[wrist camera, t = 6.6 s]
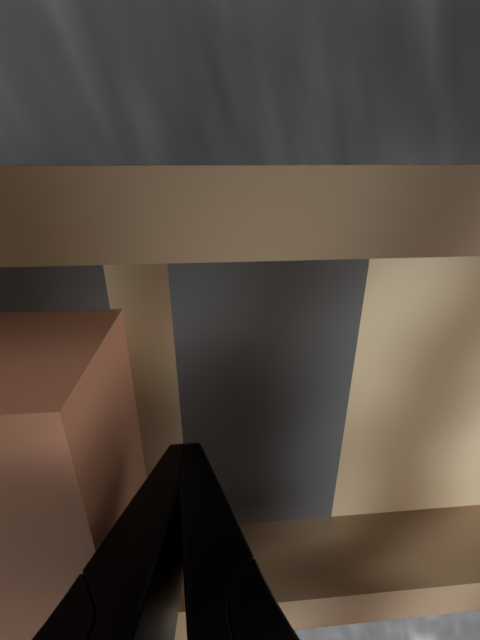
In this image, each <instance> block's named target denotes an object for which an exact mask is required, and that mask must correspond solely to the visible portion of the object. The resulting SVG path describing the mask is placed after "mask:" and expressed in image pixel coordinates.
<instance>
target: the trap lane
mask: <svg viewBox="0 0 480 640" xmlns="http://www.w3.org/2000/svg"><path fill="white" fill-rule="evenodd" d="M105 309H122V311H123V318H124V325H125V331H126V338H127V345H128V352H129V359H130V366H131V372H132V379H133V386H134V393H135V400H136V407H137V414H138V420H139V427H140V434H141V441H142V448H143V455H144V462H145V468H146V475H147V477H148V475H149V474H150V473H151V471H152V470H153V468H154V467H155V465H156V464H157V463H158V461H159V460H160V458H161V457H162V455H163V454H164V453H165V451H166V450H167V448H168V447H169V446H170V445H171V444H182V443H200V444H201V445H202V447H203V450H204V452H205V454H206V456H207V458H208V460H209V462H210V464H211V466H212V468H213V471H214V473H215V475H216V477H217V479H218V481H219V483H220V485H221V487H222V490H223V492H224V494H225V496H226V498H227V500H228V502H229V504H230V506H231V509H232V511H233V513H234V515H235V517H236V519H237V521H238V523H239V525H240V528H241V530H242V532H243V534H244V536H245V538H246V540H247V542H248V544H249V547H250V549H251V551H252V553H253V555H254V558H255V559H256V561H257V563H258V565H259V567H260V569H261V571H262V573H263V576H264V577H265V579H266V581H267V583H268V585H269V587H270V589H271V591H272V593H273V595H274V597H275V599H276V601H277V603H278V604H279V606H280V608H281V609H282V611H283V613H284V614H285V616H286V618H287V619H288V621H289V623H290V625H291V626H292V628H293V630H297V629H306V628H316V627H325V626H335V625H345V624H354V623H364V622H374V621H383V620H393V619H402V618H412V617H422V616H431V615H441V614H450V613H460V612H470V611H479V610H480V165H106V166H0V313H3V312H37V311H71V310H105ZM175 640H187V629H186V612H185V596H184V579H183V581H182V588H181V596H180V603H179V610H178V618H177V625H176V632H175Z"/></svg>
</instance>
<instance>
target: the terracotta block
mask: <svg viewBox="0 0 480 640" xmlns="http://www.w3.org/2000/svg"><path fill="white" fill-rule="evenodd" d="M146 478H147V475H146V468H145V462H144V455H143V448H142V441H141V434H140V427H139V420H138V414H137V407H136V400H135V393H134V386H133V379H132V372H131V366H130V359H129V352H128V345H127V338H126V331H125V325H124V318H123V311H122V309H105V310H71V311H37V312H3V313H0V640H31V639H32V638H33V637H34V636H35V634H36V633H37V632H38V631H39V629H40V628H41V627H42V626H43V624H44V623H45V622H46V620H47V619H48V618H49V616H50V615H51V614H52V612H53V611H54V609H55V608H56V607H57V605H58V604H59V603H60V601H61V600H62V598H63V597H64V596H65V594H66V593H67V592H68V590H69V589H70V587H71V586H72V584H73V583H74V581H75V580H76V578H77V577H78V576H79V574H83V573H82V571H83V569H84V567H85V566H86V564H87V563H88V562H89V560H90V559H91V557H92V556H93V554H94V553H95V552H96V550H97V549H98V547H99V546H100V544H101V543H102V541H103V540H104V539H105V537H106V536H107V534H108V533H109V531H110V530H111V529H112V527H113V526H114V524H115V523H116V521H117V520H118V519H119V517H120V516H121V514H122V513H123V511H124V510H125V508H126V507H127V506H128V504H129V503H130V501H131V500H132V498H133V497H134V496H135V494H136V493H137V491H138V490H139V488H140V487H141V486H142V484H143V483H144V481H145V480H146Z"/></svg>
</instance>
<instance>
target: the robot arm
mask: <svg viewBox="0 0 480 640" xmlns="http://www.w3.org/2000/svg"><path fill="white" fill-rule="evenodd" d="M82 573H83V574H79V576H78V577H77V578H76V580H75V581H74V583H73V584H72V586H71V587H70V589H69V590H68V592H67V593H66V594H65V596H64V597H63V598H62V600H61V601H60V603H59V604H58V605H57V607H56V608H55V609H54V611H53V612H52V614H51V615H50V616H49V618H48V619H47V620H46V622H45V623H44V624H43V626H42V627H41V628H40V629H39V631H38V632H37V633H36V634H35V636H34V637H33V638H32V639H31V640H175V632H176V625H177V618H178V610H179V603H180V596H181V588H182V581H183V579H184V596H185V612H186V629H187V640H300V639H299V638H298V636H297V634H296V633H295V631H294V630H293V628H292V626H291V625H290V623H289V621H288V619H287V618H286V616H285V614H284V613H283V611H282V609H281V608H280V606H279V604H278V603H277V601H276V599H275V597H274V595H273V593H272V591H271V589H270V587H269V585H268V583H267V581H266V579H265V577H264V576H263V573H262V571H261V569H260V567H259V565H258V563H257V561H256V559H255V558H254V555H253V553H252V551H251V549H250V547H249V544H248V542H247V540H246V538H245V536H244V534H243V532H242V530H241V528H240V525H239V523H238V521H237V519H236V517H235V515H234V513H233V511H232V509H231V506H230V504H229V502H228V500H227V498H226V496H225V494H224V492H223V490H222V487H221V485H220V483H219V481H218V479H217V477H216V475H215V473H214V471H213V468H212V466H211V464H210V462H209V460H208V458H207V456H206V454H205V452H204V450H203V447H202V445H201V444H200V443H182V444H171V445H170V446H169V447H168V448H167V450H166V451H165V453H164V454H163V455H162V457H161V458H160V460H159V461H158V463H157V464H156V465H155V467H154V468H153V470H152V471H151V473H150V474H149V475H148V477H147V478H146V480H145V481H144V483H143V484H142V486H141V487H140V488H139V490H138V491H137V493H136V494H135V496H134V497H133V498H132V500H131V501H130V503H129V504H128V506H127V507H126V508H125V510H124V511H123V513H122V514H121V516H120V517H119V519H118V520H117V521H116V523H115V524H114V526H113V527H112V529H111V530H110V531H109V533H108V534H107V536H106V537H105V539H104V540H103V541H102V543H101V544H100V546H99V547H98V549H97V550H96V552H95V553H94V554H93V556H92V557H91V559H90V560H89V562H88V563H87V564H86V566H85V567H84V569H83V571H82Z"/></svg>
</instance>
